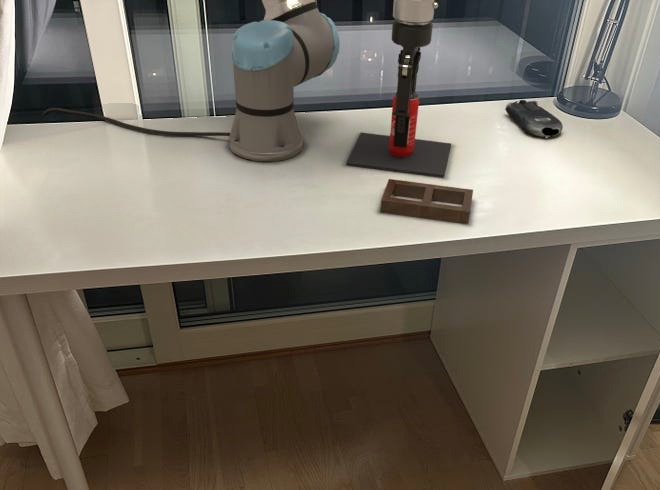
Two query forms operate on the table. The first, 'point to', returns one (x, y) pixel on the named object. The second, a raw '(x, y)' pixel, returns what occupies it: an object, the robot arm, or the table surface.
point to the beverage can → (411, 131)
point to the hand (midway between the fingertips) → (402, 140)
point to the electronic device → (534, 118)
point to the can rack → (427, 201)
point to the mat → (422, 160)
